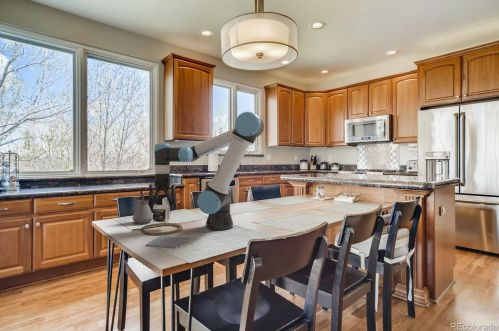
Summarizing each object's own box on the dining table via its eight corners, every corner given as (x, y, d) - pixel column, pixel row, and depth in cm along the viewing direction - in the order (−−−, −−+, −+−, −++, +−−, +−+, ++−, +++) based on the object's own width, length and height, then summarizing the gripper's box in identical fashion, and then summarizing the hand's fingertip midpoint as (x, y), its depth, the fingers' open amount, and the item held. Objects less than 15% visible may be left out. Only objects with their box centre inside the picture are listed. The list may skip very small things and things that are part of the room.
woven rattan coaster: (187, 225, 155) (187, 223, 155) (172, 236, 135) (172, 233, 135) (153, 224, 158) (153, 222, 158) (132, 233, 138) (132, 231, 138)
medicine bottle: (152, 222, 144) (152, 198, 143) (159, 219, 151) (159, 196, 150) (165, 222, 142) (165, 199, 142) (172, 219, 149) (171, 197, 149)
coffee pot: (154, 224, 159) (154, 197, 158) (132, 225, 154) (132, 198, 154) (152, 216, 178) (152, 192, 178) (133, 217, 174) (133, 193, 174)
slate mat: (188, 238, 132) (188, 237, 132) (176, 247, 118) (176, 246, 118) (160, 236, 134) (160, 235, 134) (145, 245, 120) (145, 244, 120)
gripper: (183, 172, 148) (183, 215, 149) (147, 172, 151) (148, 214, 152) (177, 173, 141) (178, 219, 141) (140, 173, 143) (140, 217, 144)
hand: (162, 216), depth 146 cm, fingers closed on medicine bottle, 7 cm apart
